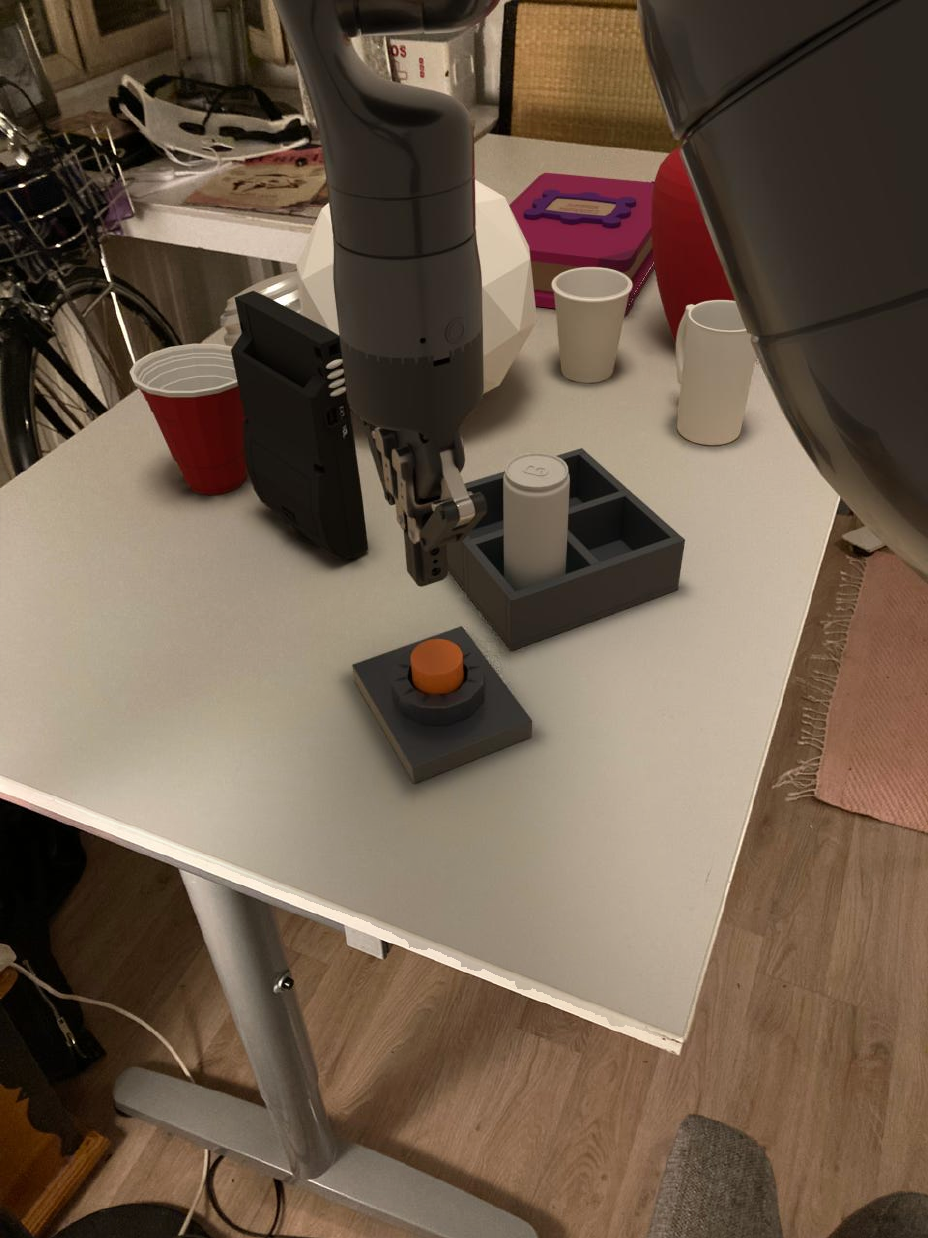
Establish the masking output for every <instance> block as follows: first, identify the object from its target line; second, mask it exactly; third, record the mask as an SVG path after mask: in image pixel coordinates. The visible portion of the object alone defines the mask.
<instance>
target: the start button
mask: <svg viewBox="0 0 928 1238" xmlns="http://www.w3.org/2000/svg"><path fill="white" fill-rule="evenodd" d="M410 660H411V670H412V680H413V683H414V685H415V687H416V688H417V689H418V690H420V691H421V692H423V693H425V694H428V695H445V694H448V693H451V692H453V691H455V690H456V689H457V688H458V687H459V686H460V685H461V683H462V682H463V678H464V671H463V654H462V651H461V649H460V648H459V647H458V646H457V645H456V644H455V643H453V642H451V641H448V640H444V639H432V640H428V641H425V642H422V643H420V644H419V645H418V646H416V647H415V648H414V650H413V651H412V653H411V658H410Z"/></svg>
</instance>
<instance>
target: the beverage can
mask: <svg viewBox="0 0 928 1238" xmlns="http://www.w3.org/2000/svg"><path fill="white" fill-rule="evenodd" d="M504 471H505V473H504V477H503V501H504V579H505V580H506V581H507V582H508V583H509V585H510V586H511V587H512V588H513V589H514V590H515V592H516V591H519V590H522V589H524V588H527V587H530V586H533V585H536V584H539V583H542V582H545V581H547V580H550V579H553V578H556V577H559V576H562V575H565V574H566V552H567V531H568V509H569V487H570V477H569V473H568V466H567V464H566V463H565V462H564V461H563V460H562V459H561V458H559V457H557V455H555V454H551V453H548V452H534V451H533V452H527V453H522V454H518V455H516V456H514V457H513V458H511V459H510V460H509V461H508V462H507V463H506V465H505V468H504Z"/></svg>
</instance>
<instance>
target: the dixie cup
mask: <svg viewBox="0 0 928 1238" xmlns="http://www.w3.org/2000/svg"><path fill="white" fill-rule="evenodd" d="M632 286H633V285H632V281H631V280H630V279H629V278H628V277H627V276H626V275H625V274H623V273H621V272H619V271H616V270H612V269H607V268H600V267H583V268H576V269H571V270H568V271H565V272H562V273H561V274H559V275H558V276H556V277H555V278H554V279H553V281H552V289H553V291H554V297H555V308H556V309H555V319H556V327H557V340H558V349H559V350H558V351H559V358H560V359H559V360H560V370H561V374H562V376H563V377H564V378H566V379H567V380H569V381H573V382H577V383H581V384H582V383H584V384H593V383H599V382H603V381H606V380H607V379H609V378H610V377H611V376H612V375H613V373H614V368H615V362H616V359H617V354H618V348H619V345H620V339H621V335H622V329H623V326H624V325H623V324H624V320H625V317H624V315H625V310H626V306H627V301H628V296H629V292H630V291H631V290H632Z"/></svg>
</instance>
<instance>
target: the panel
mask: <svg viewBox="0 0 928 1238" xmlns="http://www.w3.org/2000/svg"><path fill="white" fill-rule="evenodd" d="M432 639H444V640H448V641H451V642H453V643H455V644H456V645H457V646H458V647H459V648H460V649H461V651H462V654H463V671H464V678H463V682H462V683H461V685H460V686H459V687H458V688H457V689H456V690H455V691H453V692H451V693H448V694H445V695H428V694H425V693H423V692H421V691H420V690H418V689H417V688H416V687H415V685H414V683H413V680H412V670H411V660H410V658H411V653H412V651H413V650H414V648H415V647H416V646H418V645H419V644H420V643H422V642H425V641H428V640H432ZM351 667H352V673H353V674H352V675H353V680H354V682H355V683H354V684H356V686H357V688H358V690H359V691H360V694H361V695H362V696H363V698H364V700H365V701H366V703H367V705H368V707H369V708H370V710H371V712H372V713H373V715H374V717H375V719H376V720H377V722H378V724H379V726H380V727H381V729H382V731H383V732H384V734H385V736H386V738H387V739H388V741H389V743H390V745H391V746H392V748H393V750H394V751H395V753H396V755H397V757H398V758H399V761H400V762H401V764H402V766H403V767H404V769H405V770H406V771H405V772H407V774H408V776H409V777H410V779H411V781H412V782H413V784H417V783H420V782H423V781H425V780H428V779H430V778H432V777H435V776H438V775H441V774H442V773H445V772H448V771H450V770H452V769H455V768H458V767H460V766H463V765H465V764H467V763H469V762H473V761H475V760H477V759H480V758H482V757H485V756H487V755H490V754H493V753H495V752H497V751H499V750H502V749H505V748H507V747H510V746H512V745H514V744H518V743H520V742H522V741H524V740H527V739H529V738H532V736H533V719H532V718H531V717H530V715H529V714H528V713H527V711H526V710H525V709H524V708H523V706H522V704H521V703H520V702H519V701H518V700H517V698H516V697H515V695H514V693H513V692H512V691H511V690H510V689H509V687H508V686H507V684H506V683H505V682H504V681H503V679H502V678H501V676H500V675H499V674H498V672H497V671H496V670H495V668H494V667H493V666H492V665H491V663H490V661H488V659H487V658H486V656H485V655H484V654H483V652H482V651H481V650H480V649H479V647H478V645H477V644H476V643H475V642H474V640H473V639H472V638H471V636H470V635H469V634H468V632H467V631H466V629H465V628H464V626H458V627H454V628H452V629H449V630H445V631H444V632H441V633H438V634H434V635H432V636H428V637H427V638H424V639H421V640H419V641H415V642H413V643H409V644H407V645H403V646H401V647H398V648H396V649H392V650H389V651H387V652H384V653H381V654H378V655H376V656H373V657H370V658H367V659H365V660H361V661H359V662H356V663H352V665H351Z"/></svg>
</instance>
